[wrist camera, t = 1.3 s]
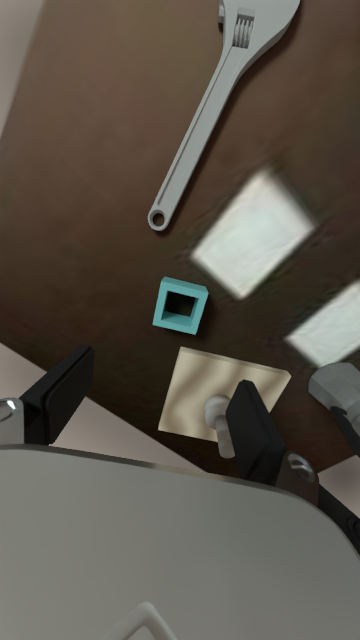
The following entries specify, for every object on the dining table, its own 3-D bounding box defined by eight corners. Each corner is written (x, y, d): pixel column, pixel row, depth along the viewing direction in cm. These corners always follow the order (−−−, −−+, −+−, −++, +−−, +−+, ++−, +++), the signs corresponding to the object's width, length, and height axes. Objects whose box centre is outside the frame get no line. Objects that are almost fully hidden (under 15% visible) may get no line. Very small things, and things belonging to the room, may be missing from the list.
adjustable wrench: (163, 236, 25) (161, 235, 23) (124, 206, 24) (119, 203, 22) (306, -3, 17) (319, -30, 15) (256, -67, 16) (265, -104, 14)
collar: (205, 286, 27) (208, 292, 23) (194, 323, 29) (195, 334, 26) (164, 276, 27) (161, 281, 23) (157, 314, 29) (152, 324, 25)
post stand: (287, 371, 32) (327, 420, 23) (245, 441, 40) (263, 499, 30) (180, 346, 31) (177, 387, 22) (159, 423, 39) (150, 478, 29)
